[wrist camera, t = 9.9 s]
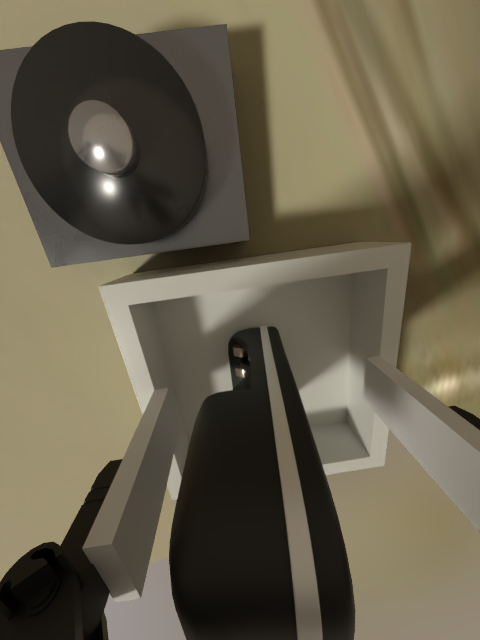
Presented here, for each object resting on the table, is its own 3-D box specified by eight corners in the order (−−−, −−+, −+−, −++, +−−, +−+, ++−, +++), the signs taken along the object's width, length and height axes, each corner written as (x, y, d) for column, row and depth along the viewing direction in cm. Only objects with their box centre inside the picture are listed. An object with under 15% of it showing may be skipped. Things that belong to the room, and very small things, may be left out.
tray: (182, 446, 18) (172, 500, 15) (132, 273, 14) (98, 286, 10) (351, 420, 19) (384, 465, 15) (360, 241, 14) (411, 242, 10)
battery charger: (215, 324, 14) (113, 610, 3) (277, 319, 14) (377, 610, 3) (228, 413, 17) (193, 744, 6) (281, 410, 16) (345, 749, 6)
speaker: (75, 263, 13) (7, 274, 9) (10, 87, 11) (-132, -15, 6) (246, 239, 13) (256, 240, 9) (226, 61, 11) (228, -54, 7)
